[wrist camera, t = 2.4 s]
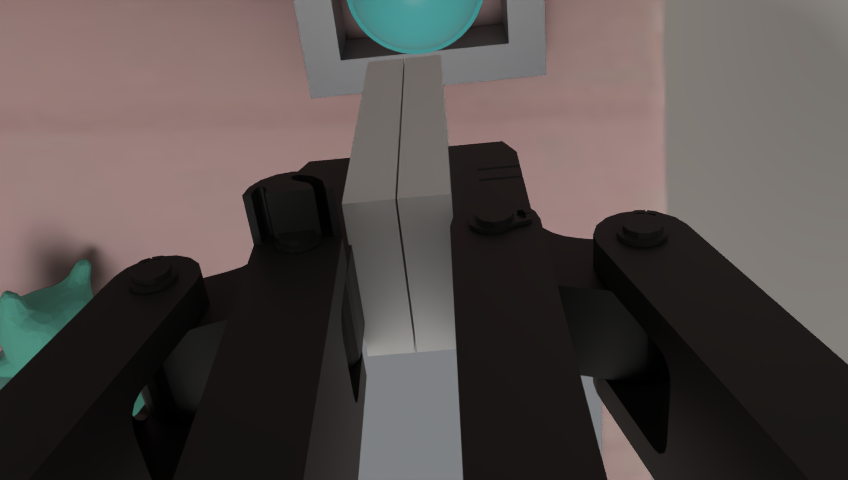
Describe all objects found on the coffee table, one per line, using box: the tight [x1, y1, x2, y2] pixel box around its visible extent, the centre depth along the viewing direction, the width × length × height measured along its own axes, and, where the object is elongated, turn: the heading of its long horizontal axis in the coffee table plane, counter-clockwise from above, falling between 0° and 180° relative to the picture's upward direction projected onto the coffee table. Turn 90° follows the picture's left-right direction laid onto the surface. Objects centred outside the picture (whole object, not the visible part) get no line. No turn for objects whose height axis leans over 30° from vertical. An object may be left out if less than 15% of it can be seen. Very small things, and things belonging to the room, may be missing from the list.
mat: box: [358, 337, 602, 480], centre depth 47 cm, size 18×18×1 cm
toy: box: [0, 259, 145, 416], centre depth 41 cm, size 10×10×15 cm
